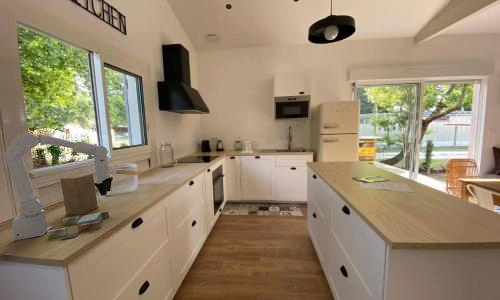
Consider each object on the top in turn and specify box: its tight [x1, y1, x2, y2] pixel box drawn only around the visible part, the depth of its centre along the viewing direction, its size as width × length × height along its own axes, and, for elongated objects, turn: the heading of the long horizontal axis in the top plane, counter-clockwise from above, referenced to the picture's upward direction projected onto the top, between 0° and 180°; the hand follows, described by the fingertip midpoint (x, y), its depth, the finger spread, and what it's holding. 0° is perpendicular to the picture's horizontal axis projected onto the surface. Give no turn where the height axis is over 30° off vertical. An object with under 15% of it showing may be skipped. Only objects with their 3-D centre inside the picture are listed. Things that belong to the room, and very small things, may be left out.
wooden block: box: [59, 173, 99, 216], centre depth 110 cm, size 10×10×20 cm
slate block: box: [76, 212, 104, 232], centre depth 93 cm, size 7×8×4 cm
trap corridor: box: [46, 210, 110, 241], centre depth 91 cm, size 18×22×3 cm
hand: (106, 193), depth 106 cm, fingers open, 6 cm apart
